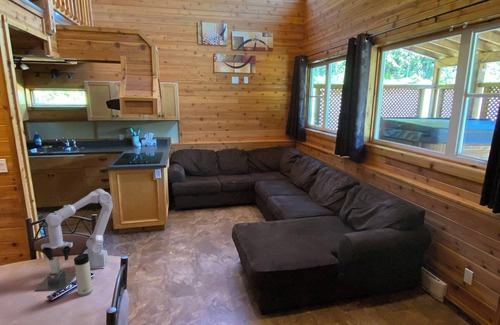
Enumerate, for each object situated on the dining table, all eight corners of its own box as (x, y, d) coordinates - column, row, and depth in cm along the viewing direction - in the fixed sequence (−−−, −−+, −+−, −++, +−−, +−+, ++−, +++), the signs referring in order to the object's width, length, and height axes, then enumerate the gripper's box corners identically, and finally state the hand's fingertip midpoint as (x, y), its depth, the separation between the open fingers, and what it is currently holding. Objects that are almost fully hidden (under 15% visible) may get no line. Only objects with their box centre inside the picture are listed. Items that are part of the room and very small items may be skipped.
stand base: (77, 273, 165) (76, 264, 164) (65, 289, 151) (63, 279, 150) (50, 274, 163) (48, 265, 162) (35, 291, 150) (33, 281, 149)
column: (61, 273, 158) (58, 257, 156) (58, 277, 155) (55, 260, 153) (54, 274, 158) (52, 257, 156) (51, 277, 155) (49, 260, 153)
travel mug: (86, 297, 146) (82, 259, 142) (75, 295, 147) (70, 258, 143) (95, 289, 152) (91, 253, 148) (84, 287, 153) (80, 251, 149)
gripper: (36, 240, 152) (40, 264, 154) (66, 239, 153) (70, 263, 156) (43, 234, 158) (47, 257, 161) (73, 232, 160) (76, 256, 163)
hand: (59, 259), depth 159 cm, fingers open, 7 cm apart
